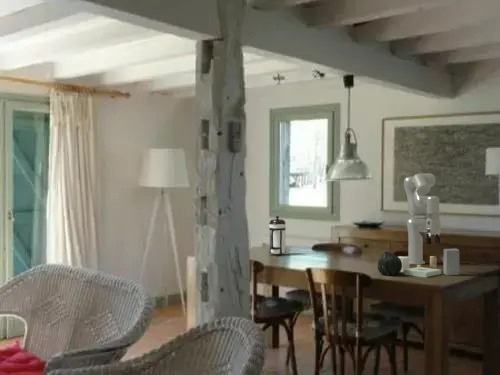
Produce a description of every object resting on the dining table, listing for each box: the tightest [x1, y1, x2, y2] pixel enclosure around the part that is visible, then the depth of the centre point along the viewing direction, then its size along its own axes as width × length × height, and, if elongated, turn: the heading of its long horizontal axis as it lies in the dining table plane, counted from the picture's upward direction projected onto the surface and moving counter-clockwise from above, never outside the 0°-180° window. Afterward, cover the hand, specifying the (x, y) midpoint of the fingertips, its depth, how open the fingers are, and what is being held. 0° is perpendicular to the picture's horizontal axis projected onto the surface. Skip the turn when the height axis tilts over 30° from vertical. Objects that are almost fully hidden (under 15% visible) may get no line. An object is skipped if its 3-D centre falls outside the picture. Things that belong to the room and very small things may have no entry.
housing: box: [397, 255, 411, 273], centre depth 403 cm, size 7×7×9 cm
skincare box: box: [442, 247, 460, 276], centre depth 390 cm, size 8×7×16 cm
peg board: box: [403, 266, 442, 278], centre depth 390 cm, size 16×16×3 cm
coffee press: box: [268, 215, 287, 256], centre depth 486 cm, size 17×16×30 cm
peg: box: [429, 255, 438, 269], centre depth 398 cm, size 4×4×10 cm
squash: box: [377, 251, 402, 276], centre depth 392 cm, size 14×15×15 cm
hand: (433, 243), depth 398 cm, fingers open, 9 cm apart
